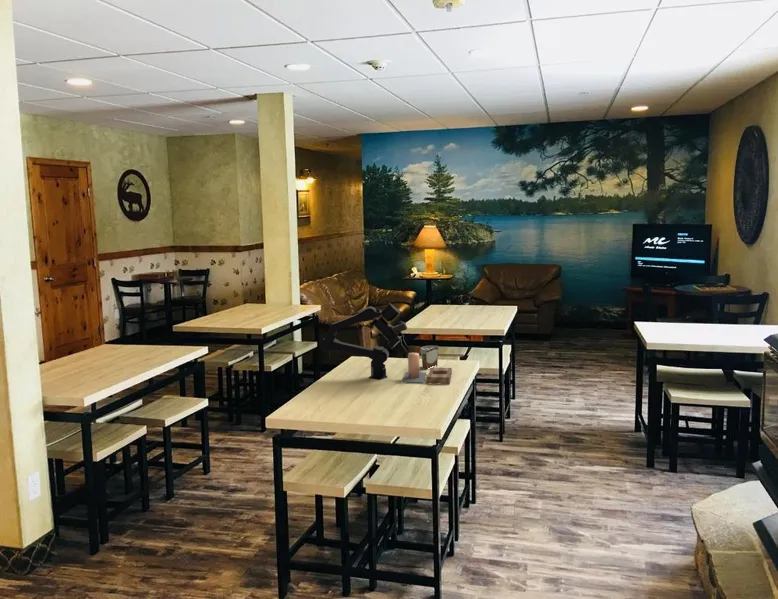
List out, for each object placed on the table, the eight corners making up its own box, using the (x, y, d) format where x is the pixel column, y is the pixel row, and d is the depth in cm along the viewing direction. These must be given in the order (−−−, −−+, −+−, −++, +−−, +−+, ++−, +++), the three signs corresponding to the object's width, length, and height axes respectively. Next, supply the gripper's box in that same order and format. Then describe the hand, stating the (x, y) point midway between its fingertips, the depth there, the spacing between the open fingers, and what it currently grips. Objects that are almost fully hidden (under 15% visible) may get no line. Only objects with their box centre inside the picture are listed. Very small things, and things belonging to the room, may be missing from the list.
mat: (401, 383, 300) (401, 381, 300) (405, 373, 318) (405, 371, 318) (423, 383, 298) (423, 382, 298) (426, 373, 316) (426, 372, 316)
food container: (428, 363, 336) (428, 344, 335) (438, 365, 333) (438, 345, 331) (415, 368, 326) (414, 348, 325) (425, 370, 323) (425, 350, 321)
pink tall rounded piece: (406, 377, 308) (405, 354, 306) (412, 374, 312) (412, 352, 310) (415, 378, 304) (414, 355, 303) (421, 376, 308) (421, 353, 307)
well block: (427, 383, 298) (427, 377, 298) (430, 373, 316) (430, 367, 315) (449, 384, 297) (449, 377, 296) (451, 374, 314) (451, 367, 314)
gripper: (395, 319, 296) (419, 344, 297) (398, 313, 315) (421, 337, 315) (377, 336, 298) (401, 360, 298) (382, 329, 317) (404, 353, 317)
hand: (408, 352), depth 307 cm, fingers open, 9 cm apart
